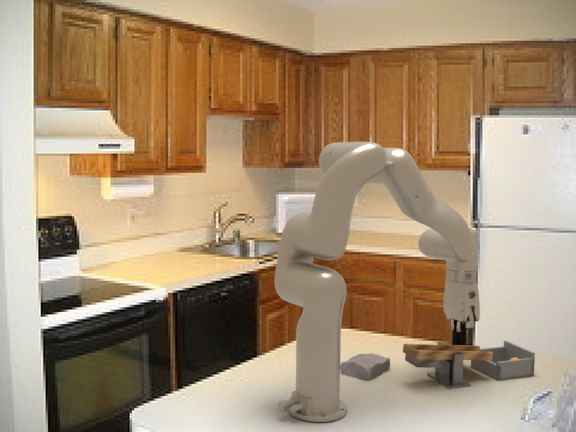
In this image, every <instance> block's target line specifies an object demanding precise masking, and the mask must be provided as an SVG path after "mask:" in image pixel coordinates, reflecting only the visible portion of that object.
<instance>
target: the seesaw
mask: <svg viewBox="0 0 576 432" xmlns="http://www.w3.org/2000/svg"><path fill="white" fill-rule="evenodd" d="M442 344H444V345H442ZM402 347H403V348H402V353H403V354H405V356H404V360H405V362H407V363H409V364H410V365H412V366H414V367H415V368H420V369H421V368H432V369H435V368H439V361H440V360H453V354H458V353H462V354H463V361H471V360H487V361H492V357H493V352H481V351H480V349H481V346H480V345H467V344H466V345H452V341H442V340H441V341H437V344H427V343H426V344H425V343H424V344H422V343H403V346H402Z"/></svg>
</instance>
